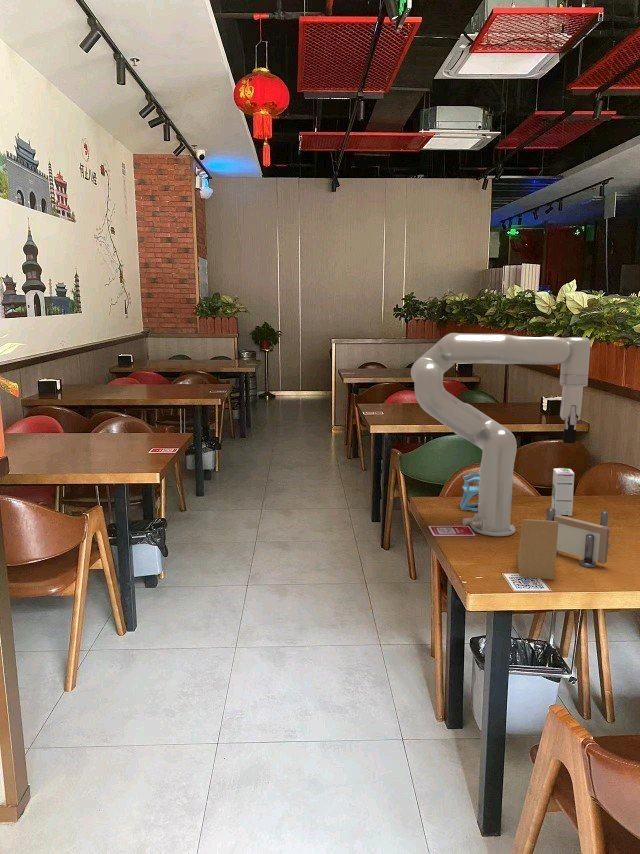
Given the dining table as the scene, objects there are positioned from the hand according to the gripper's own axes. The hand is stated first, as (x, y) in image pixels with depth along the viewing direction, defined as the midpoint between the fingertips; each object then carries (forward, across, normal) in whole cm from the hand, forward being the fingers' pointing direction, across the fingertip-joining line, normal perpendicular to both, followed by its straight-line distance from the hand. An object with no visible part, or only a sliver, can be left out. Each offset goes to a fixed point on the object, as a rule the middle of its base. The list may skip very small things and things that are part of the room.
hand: (569, 442), depth 191 cm
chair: (+27, -15, -27) cm, 41 cm away
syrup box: (+27, -18, +1) cm, 33 cm away
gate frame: (+27, +20, +5) cm, 34 cm away
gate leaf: (+26, +24, +2) cm, 35 cm away
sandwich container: (+28, +32, -9) cm, 43 cm away
